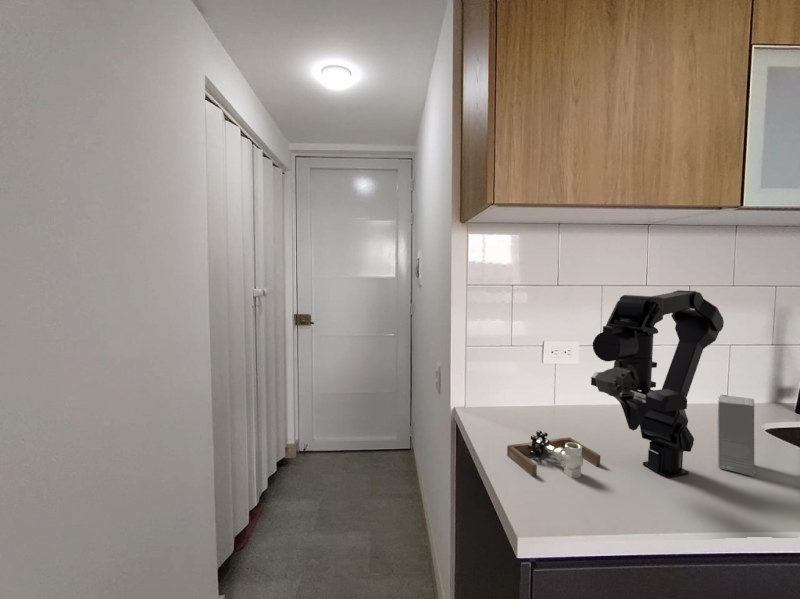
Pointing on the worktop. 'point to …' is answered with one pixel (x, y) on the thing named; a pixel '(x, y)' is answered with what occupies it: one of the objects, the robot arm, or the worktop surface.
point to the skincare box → (736, 434)
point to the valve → (559, 453)
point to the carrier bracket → (520, 450)
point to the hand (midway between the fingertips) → (632, 429)
